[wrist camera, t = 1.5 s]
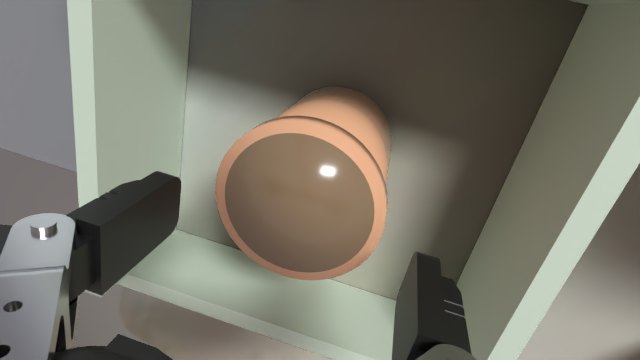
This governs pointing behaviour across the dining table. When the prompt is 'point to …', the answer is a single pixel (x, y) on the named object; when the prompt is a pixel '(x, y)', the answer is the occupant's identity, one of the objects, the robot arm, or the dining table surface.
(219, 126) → the dining table surface
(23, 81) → the slate board
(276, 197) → the terracotta pot
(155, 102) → the pale green open box
